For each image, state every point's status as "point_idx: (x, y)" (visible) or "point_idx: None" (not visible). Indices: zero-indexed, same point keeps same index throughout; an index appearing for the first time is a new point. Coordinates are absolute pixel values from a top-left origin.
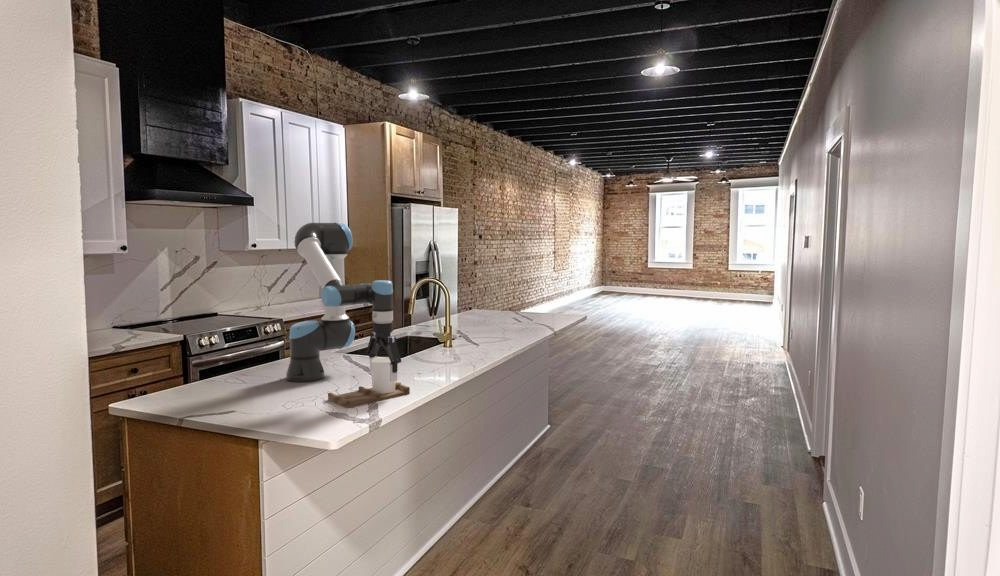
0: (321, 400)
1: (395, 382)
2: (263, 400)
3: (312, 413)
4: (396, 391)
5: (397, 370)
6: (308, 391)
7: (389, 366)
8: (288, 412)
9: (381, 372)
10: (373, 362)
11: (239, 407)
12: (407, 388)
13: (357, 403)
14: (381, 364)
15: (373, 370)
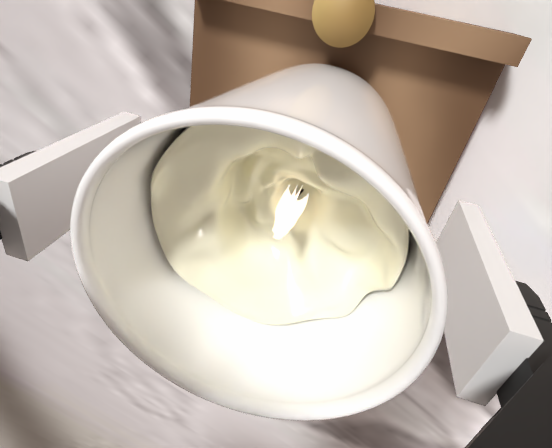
0: None
1: (392, 119)
2: (55, 387)
3: (282, 440)
4: (409, 111)
5: (540, 301)
6: (25, 278)
7: (410, 323)
8: (215, 443)
9: (348, 321)
10: (246, 409)
11: (84, 435)
12: (515, 64)
13: None
14: (344, 394)
15: (262, 331)
